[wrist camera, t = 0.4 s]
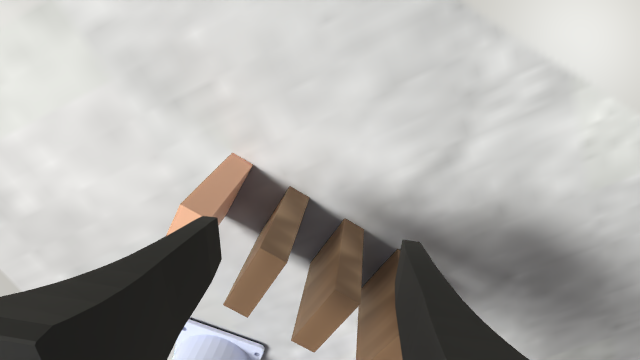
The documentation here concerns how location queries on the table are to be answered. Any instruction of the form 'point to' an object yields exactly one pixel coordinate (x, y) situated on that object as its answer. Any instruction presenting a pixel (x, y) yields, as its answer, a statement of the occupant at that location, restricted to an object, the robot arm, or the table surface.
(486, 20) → the table surface
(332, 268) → the domino
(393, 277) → the domino
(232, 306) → the domino
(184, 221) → the domino
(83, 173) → the table surface
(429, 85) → the table surface
